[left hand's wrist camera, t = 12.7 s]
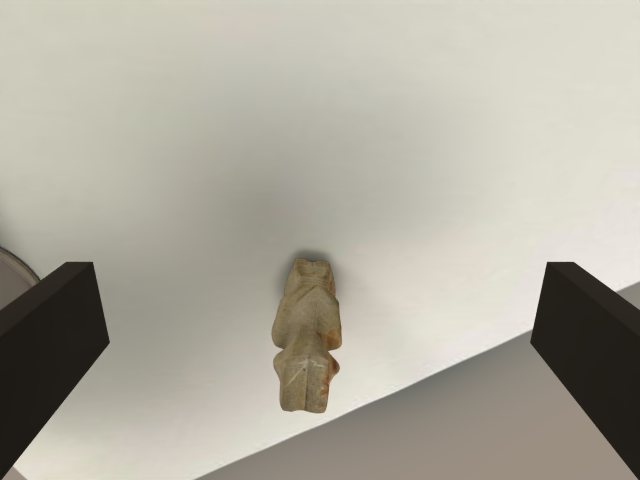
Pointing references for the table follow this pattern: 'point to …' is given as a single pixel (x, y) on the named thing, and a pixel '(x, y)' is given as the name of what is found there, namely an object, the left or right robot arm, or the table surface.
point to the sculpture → (307, 337)
